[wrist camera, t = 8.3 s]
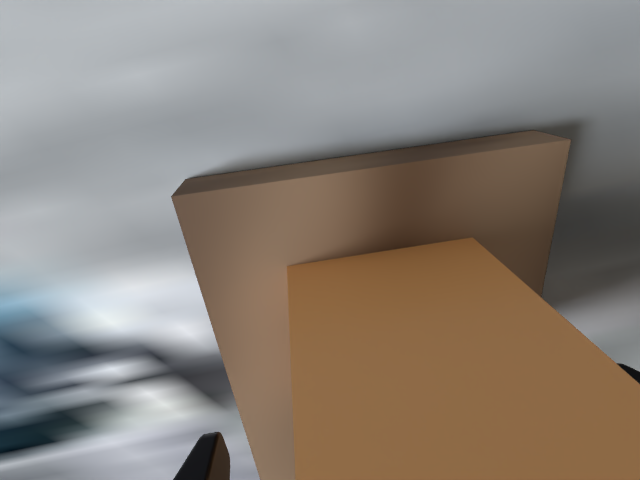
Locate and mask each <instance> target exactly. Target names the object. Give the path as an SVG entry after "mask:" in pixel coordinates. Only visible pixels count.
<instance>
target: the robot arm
mask: <svg viewBox="0 0 640 480" xmlns="http://www.w3.org/2000/svg"><path fill="white" fill-rule="evenodd" d="M616 364H617V365H619V366H620V367H621V368H622V369H623V370H624V371H625V372H627V373H628V374H629V375H630V376H631V377H632V378H633V379H635V380H636V381H637V382H638V383H639V384H640V372H639V371H637V370H635V369H633V368H631V367H628V366H626V365H624V364H619V363H616ZM173 480H230V457H229V453H228V450H227V447H226V444H225V441H224V439H223V436H222V434H221V433H220V432H214V433H208V434H204V435H202V436H201V437H200V438H199V440H198V441H197V443H196V445H195V446H194V448H193V449H192V451H191V453H190V454H189V456H188V457H187V459H186V460H185V462H184V464H183V465H182V467H181V468H180V470H179V471H178V473H177V475H176V476H175V478H174V479H173Z"/></svg>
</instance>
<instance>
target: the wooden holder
mask: <svg viewBox="0 0 640 480" xmlns="http://www.w3.org/2000/svg"><path fill="white" fill-rule="evenodd" d="M570 143H571V139H567V138H563V137H559V136H555V135H551V134H547V133H543V132H539V131H535V130H531V131H524V132H517V133H510V134H502V135H495V136H488V137H481V138H474V139H467V140H460V141H453V142H446V143H439V144H431V145H424V146H417V147H410V148H403V149H396V150H389V151H382V152H375V153H368V154H360V155H353V156H346V157H339V158H332V159H325V160H318V161H311V162H304V163H297V164H289V165H282V166H275V167H268V168H261V169H254V170H247V171H240V172H233V173H226V174H218V175H211V176H204V177H197V178H190V179H185V181H184V182H183V183H182V184H181V185H180V187H179V188H178V189H177V190H176V191H175V193H174V194H173V195H172V196H171V197H172V201H173V204H174V207H175V210H176V213H177V216H178V220H179V223H180V226H181V229H182V232H183V236H184V239H185V242H186V245H187V248H188V251H189V255H190V258H191V261H192V264H193V267H194V270H195V274H196V277H197V280H198V283H199V286H200V289H201V293H202V296H203V299H204V302H205V305H206V308H207V312H208V315H209V318H210V321H211V324H212V328H213V331H214V334H215V337H216V340H217V343H218V347H219V350H220V353H221V356H222V359H223V362H224V366H225V369H226V372H227V375H228V378H229V381H230V385H231V388H232V391H233V394H234V397H235V400H236V404H237V407H238V410H239V413H240V416H241V420H242V423H243V426H244V429H245V432H246V435H247V439H248V442H249V445H250V448H251V451H252V454H253V458H254V461H255V464H256V467H257V470H258V473H259V477H260V480H295V456H294V431H293V406H292V382H291V357H290V332H289V307H288V283H287V266H292V265H298V264H305V263H311V262H318V261H324V260H330V259H337V258H343V257H350V256H356V255H362V254H369V253H375V252H382V251H388V250H395V249H401V248H407V247H414V246H420V245H427V244H433V243H439V242H446V241H452V240H459V239H465V238H472V237H473V238H474V239H475V240H476V241H477V242H478V243H480V244H481V245H482V246H483V247H484V248H485V249H486V250H488V251H489V252H490V253H491V254H492V255H493V256H494V257H496V258H497V259H498V260H499V261H500V262H501V263H502V264H504V265H505V266H506V267H507V268H508V269H509V270H510V271H511V272H513V273H514V274H515V275H516V276H517V277H518V278H519V279H521V280H522V281H523V282H524V283H525V284H526V285H527V286H529V287H530V288H531V289H532V290H533V291H534V292H535V293H537V294H538V295H539V296H540V297H541V295H542V290H543V285H544V279H545V274H546V269H547V264H548V258H549V253H550V248H551V243H552V237H553V232H554V227H555V222H556V216H557V211H558V206H559V200H560V195H561V190H562V185H563V179H564V174H565V169H566V164H567V158H568V153H569V148H570Z"/></svg>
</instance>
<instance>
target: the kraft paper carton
mask: <svg viewBox="0 0 640 480" xmlns="http://www.w3.org/2000/svg"><path fill="white" fill-rule="evenodd" d="M287 283H288V307H289V332H290V357H291V382H292V406H293V431H294V456H295V480H640V384H639V383H638V382H637V381H636V380H635V379H633V378H632V377H631V376H630V375H629V374H628V373H627V372H625V371H624V370H623V369H622V368H621V367H620V366H619V365H617V364H616V363H615V362H614V361H613V360H612V359H611V358H609V357H608V356H607V355H606V354H605V353H604V352H603V351H601V350H600V349H599V348H598V347H597V346H596V345H595V344H594V343H592V342H591V341H590V340H589V339H588V338H587V337H586V336H584V335H583V334H582V333H581V332H580V331H579V330H578V329H576V328H575V327H574V326H573V325H572V324H571V323H570V322H568V321H567V320H566V319H565V318H564V317H563V316H562V315H560V314H559V313H558V312H557V311H556V310H555V309H554V308H552V307H551V306H550V305H549V304H548V303H547V302H546V301H545V300H543V299H542V298H541V297H540V296H539V295H538V294H537V293H535V292H534V291H533V290H532V289H531V288H530V287H529V286H527V285H526V284H525V283H524V282H523V281H522V280H521V279H519V278H518V277H517V276H516V275H515V274H514V273H513V272H511V271H510V270H509V269H508V268H507V267H506V266H505V265H504V264H502V263H501V262H500V261H499V260H498V259H497V258H496V257H494V256H493V255H492V254H491V253H490V252H489V251H488V250H486V249H485V248H484V247H483V246H482V245H481V244H480V243H478V242H477V241H476V240H475V239H474V238H473V237H472V238H465V239H459V240H452V241H446V242H439V243H433V244H427V245H420V246H414V247H407V248H401V249H395V250H388V251H382V252H375V253H369V254H362V255H356V256H350V257H343V258H337V259H330V260H324V261H318V262H311V263H305V264H298V265H292V266H287Z"/></svg>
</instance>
